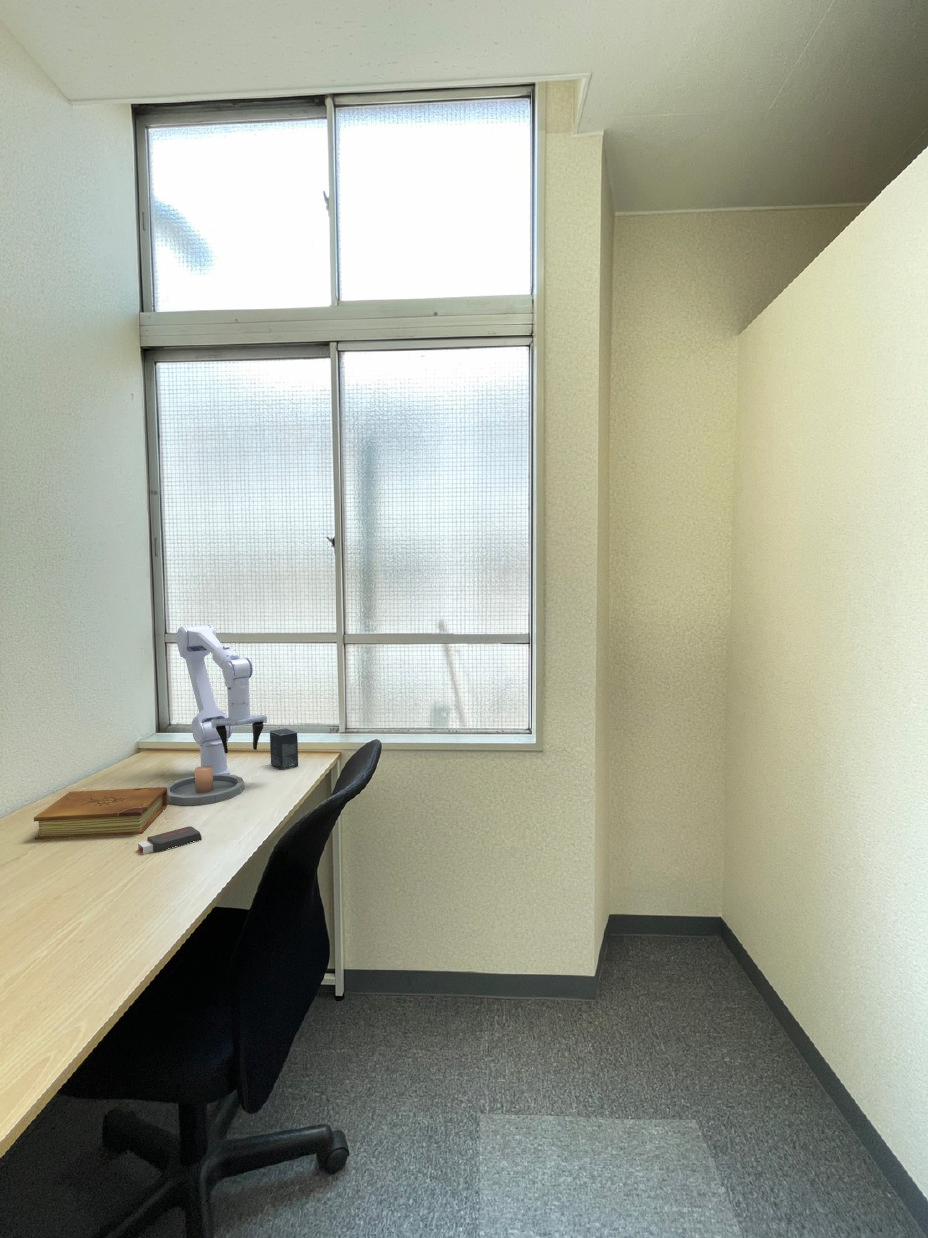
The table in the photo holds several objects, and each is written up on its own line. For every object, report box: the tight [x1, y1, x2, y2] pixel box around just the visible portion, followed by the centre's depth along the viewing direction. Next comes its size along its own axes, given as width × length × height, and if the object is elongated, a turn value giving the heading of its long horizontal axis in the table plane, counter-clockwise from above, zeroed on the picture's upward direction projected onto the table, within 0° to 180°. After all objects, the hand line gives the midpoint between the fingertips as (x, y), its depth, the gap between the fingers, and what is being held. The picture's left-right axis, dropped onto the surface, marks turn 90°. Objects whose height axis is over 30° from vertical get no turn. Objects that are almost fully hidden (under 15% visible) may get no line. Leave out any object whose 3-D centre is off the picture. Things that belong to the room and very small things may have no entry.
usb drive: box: [137, 825, 203, 855], centre depth 150 cm, size 5×12×3 cm, turn 133°
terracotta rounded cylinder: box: [194, 765, 213, 793], centre depth 185 cm, size 4×4×6 cm
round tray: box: [165, 774, 245, 806], centre depth 185 cm, size 20×20×2 cm
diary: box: [33, 786, 169, 840], centre depth 164 cm, size 23×19×6 cm
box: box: [269, 728, 299, 770], centre depth 209 cm, size 8×6×11 cm
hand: (240, 750), depth 191 cm, fingers open, 7 cm apart
